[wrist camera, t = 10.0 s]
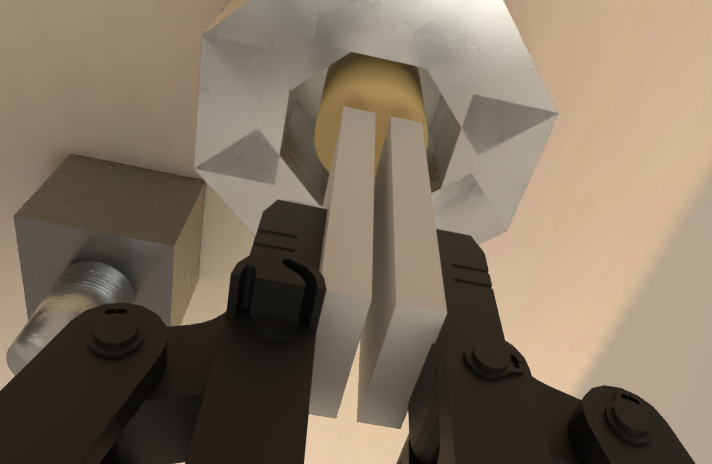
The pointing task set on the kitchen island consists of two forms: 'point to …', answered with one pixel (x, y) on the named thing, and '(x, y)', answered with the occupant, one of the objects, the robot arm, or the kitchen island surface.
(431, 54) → the ring
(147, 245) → the stand
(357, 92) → the hub
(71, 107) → the kitchen island surface
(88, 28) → the kitchen island surface
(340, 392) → the robot arm
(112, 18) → the kitchen island surface
